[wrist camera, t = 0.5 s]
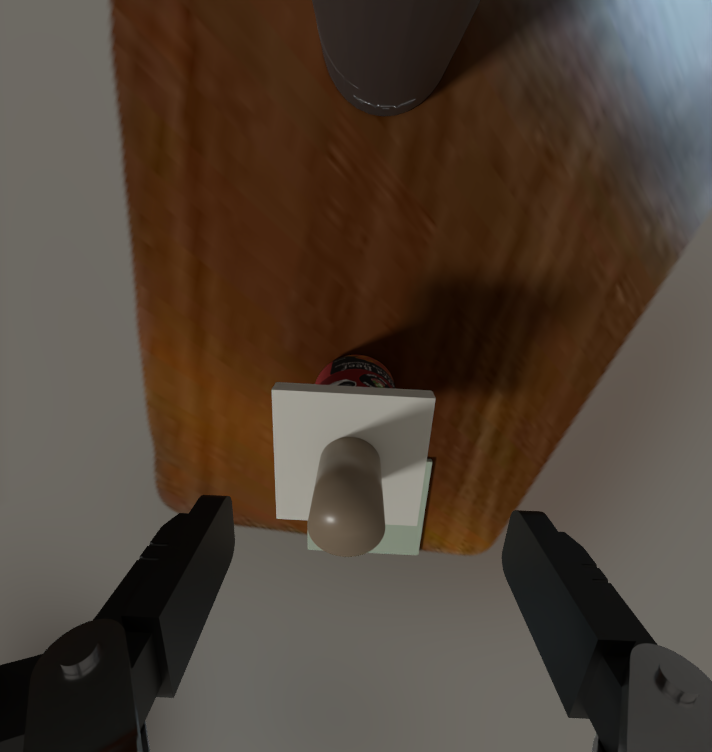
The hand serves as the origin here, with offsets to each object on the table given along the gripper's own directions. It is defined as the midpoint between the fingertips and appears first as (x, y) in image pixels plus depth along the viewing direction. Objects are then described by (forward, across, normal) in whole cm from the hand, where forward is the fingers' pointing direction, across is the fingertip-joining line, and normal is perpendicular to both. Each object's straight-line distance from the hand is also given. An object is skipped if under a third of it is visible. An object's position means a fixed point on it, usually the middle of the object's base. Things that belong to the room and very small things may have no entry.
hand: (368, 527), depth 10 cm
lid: (+13, +1, +6) cm, 14 cm away
